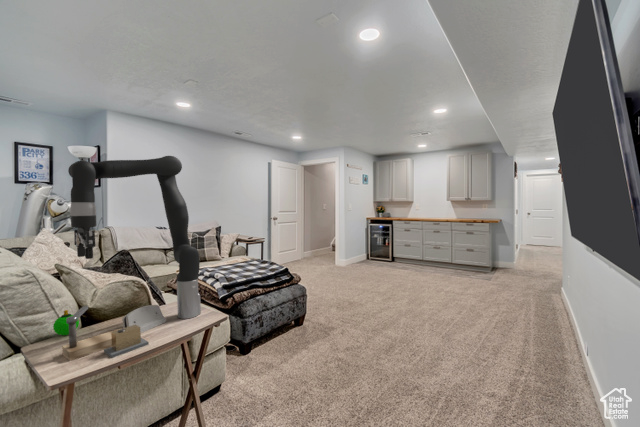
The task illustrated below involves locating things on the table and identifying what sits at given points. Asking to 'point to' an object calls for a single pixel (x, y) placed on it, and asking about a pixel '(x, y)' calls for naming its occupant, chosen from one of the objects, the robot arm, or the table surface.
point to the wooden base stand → (85, 344)
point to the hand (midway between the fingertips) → (85, 257)
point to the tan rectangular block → (126, 337)
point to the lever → (76, 315)
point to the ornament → (63, 324)
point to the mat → (113, 353)
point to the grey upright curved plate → (144, 317)
